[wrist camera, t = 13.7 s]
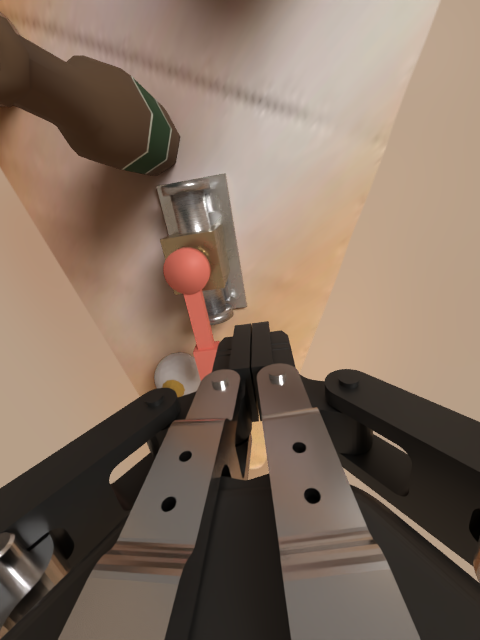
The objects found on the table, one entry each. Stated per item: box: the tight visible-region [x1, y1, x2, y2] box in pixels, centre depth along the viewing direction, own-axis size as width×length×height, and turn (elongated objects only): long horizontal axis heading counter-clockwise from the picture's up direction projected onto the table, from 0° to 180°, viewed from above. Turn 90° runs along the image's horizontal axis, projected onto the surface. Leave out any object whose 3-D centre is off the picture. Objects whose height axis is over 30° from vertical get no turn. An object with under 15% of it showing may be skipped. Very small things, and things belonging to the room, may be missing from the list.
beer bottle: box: [0, 16, 180, 176], centre depth 24 cm, size 8×8×24 cm
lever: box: [163, 247, 220, 380], centre depth 31 cm, size 15×5×2 cm, turn 10°
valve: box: [156, 174, 247, 325], centre depth 35 cm, size 9×18×11 cm, turn 9°
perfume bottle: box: [154, 352, 201, 397], centre depth 43 cm, size 8×10×12 cm
